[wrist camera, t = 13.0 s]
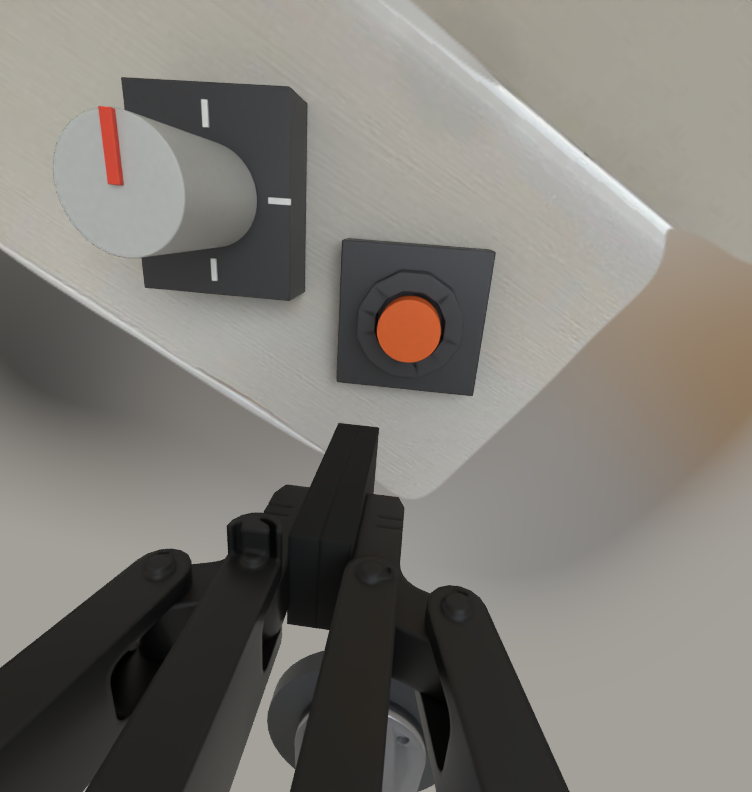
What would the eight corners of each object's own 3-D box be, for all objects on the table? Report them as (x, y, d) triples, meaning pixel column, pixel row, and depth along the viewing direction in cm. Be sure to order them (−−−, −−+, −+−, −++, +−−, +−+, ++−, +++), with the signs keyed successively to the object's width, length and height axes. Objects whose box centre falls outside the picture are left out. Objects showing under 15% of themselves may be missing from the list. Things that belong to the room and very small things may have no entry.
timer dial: (258, 251, 29) (186, 264, 20) (168, 242, 30) (60, 252, 21) (256, 144, 27) (175, 109, 18) (159, 137, 27) (34, 100, 19)
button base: (470, 386, 35) (475, 405, 31) (341, 372, 36) (331, 390, 32) (491, 249, 31) (500, 253, 28) (347, 238, 32) (336, 240, 28)
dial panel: (306, 292, 34) (290, 301, 30) (173, 280, 35) (141, 287, 31) (309, 103, 29) (290, 85, 26) (157, 94, 30) (117, 76, 26)
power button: (436, 358, 31) (436, 365, 29) (377, 352, 31) (374, 359, 29) (443, 298, 29) (444, 303, 28) (381, 292, 30) (379, 296, 28)
